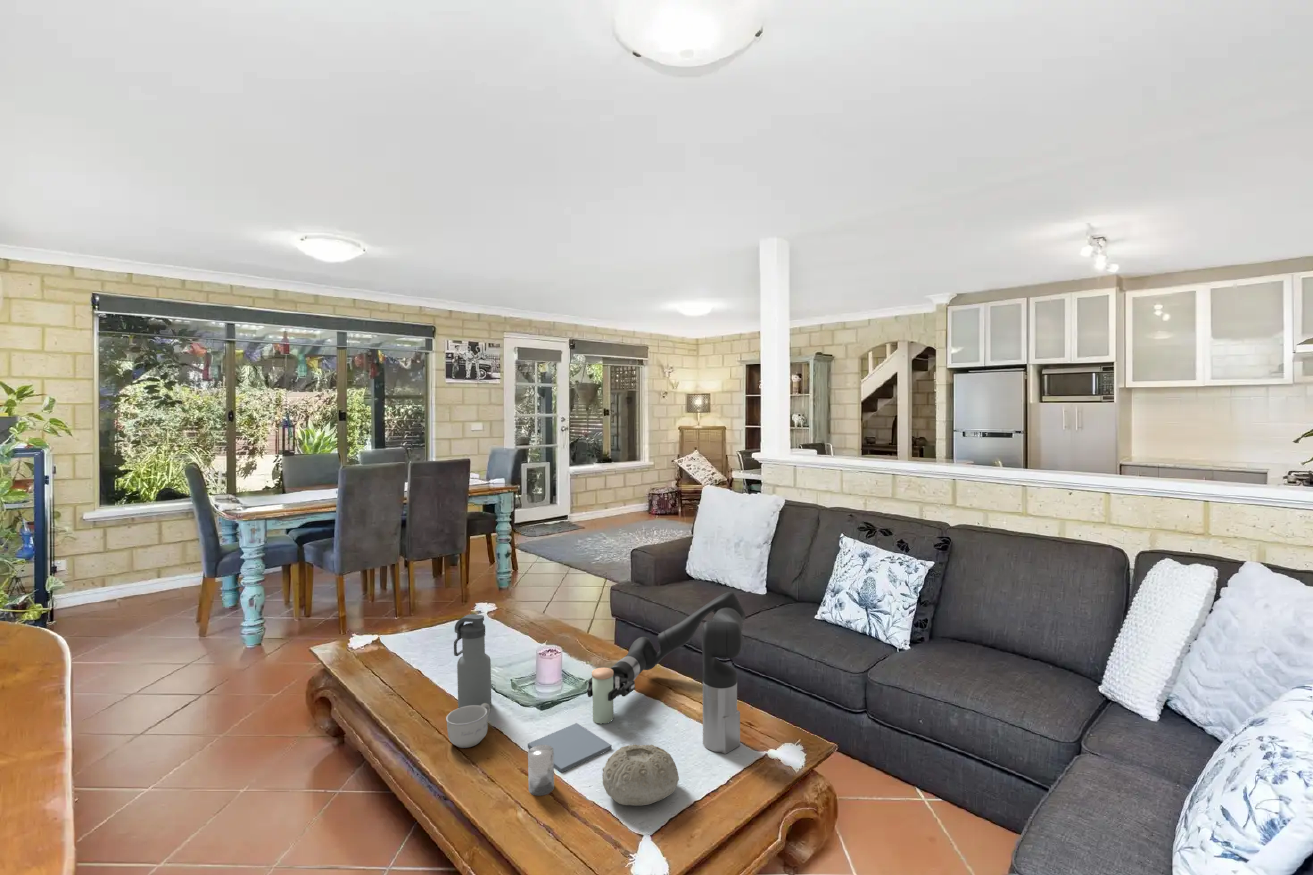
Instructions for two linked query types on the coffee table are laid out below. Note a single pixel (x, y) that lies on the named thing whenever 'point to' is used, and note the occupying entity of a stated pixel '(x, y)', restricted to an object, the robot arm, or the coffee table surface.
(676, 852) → the coffee table surface
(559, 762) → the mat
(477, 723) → the teacup
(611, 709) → the sage tin
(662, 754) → the decorative shell
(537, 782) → the steel tin
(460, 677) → the water bottle
